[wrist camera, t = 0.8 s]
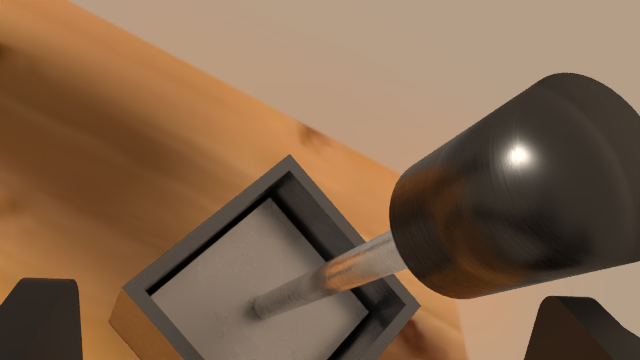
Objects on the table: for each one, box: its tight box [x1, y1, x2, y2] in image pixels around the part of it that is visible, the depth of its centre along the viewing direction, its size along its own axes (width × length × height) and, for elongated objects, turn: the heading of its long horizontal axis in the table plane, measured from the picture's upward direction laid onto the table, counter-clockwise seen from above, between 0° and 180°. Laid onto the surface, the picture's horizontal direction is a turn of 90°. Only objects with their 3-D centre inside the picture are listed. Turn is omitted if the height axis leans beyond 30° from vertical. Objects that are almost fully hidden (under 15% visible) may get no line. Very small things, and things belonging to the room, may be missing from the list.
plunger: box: [151, 73, 640, 360], centre depth 19 cm, size 8×8×21 cm
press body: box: [109, 154, 421, 360], centre depth 31 cm, size 13×10×14 cm
